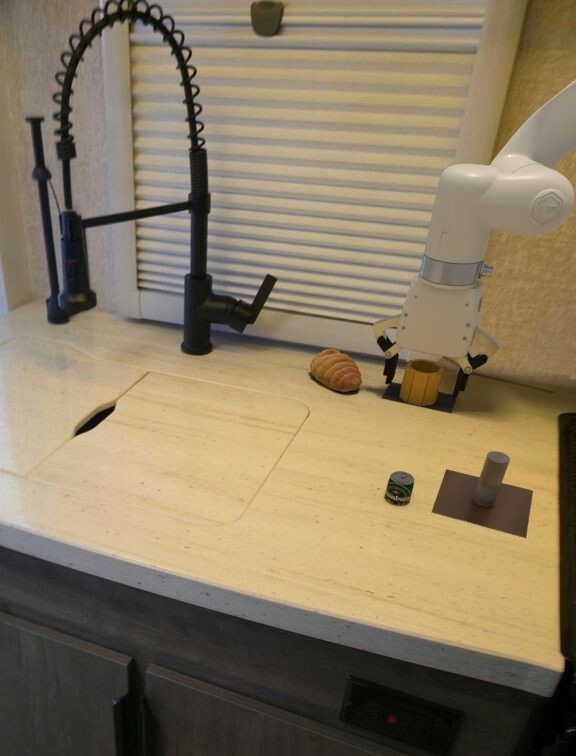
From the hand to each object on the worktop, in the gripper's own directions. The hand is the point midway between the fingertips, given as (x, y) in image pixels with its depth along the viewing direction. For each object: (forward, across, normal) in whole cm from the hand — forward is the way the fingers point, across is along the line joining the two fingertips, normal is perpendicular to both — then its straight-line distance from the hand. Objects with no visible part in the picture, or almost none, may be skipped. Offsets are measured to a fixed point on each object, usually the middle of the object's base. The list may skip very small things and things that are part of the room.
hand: (422, 387), depth 98 cm
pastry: (+2, +13, -1) cm, 13 cm away
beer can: (+2, -3, +29) cm, 29 cm away
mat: (+2, 0, 0) cm, 2 cm away
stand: (+2, -12, +25) cm, 28 cm away
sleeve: (+2, 0, 0) cm, 2 cm away
